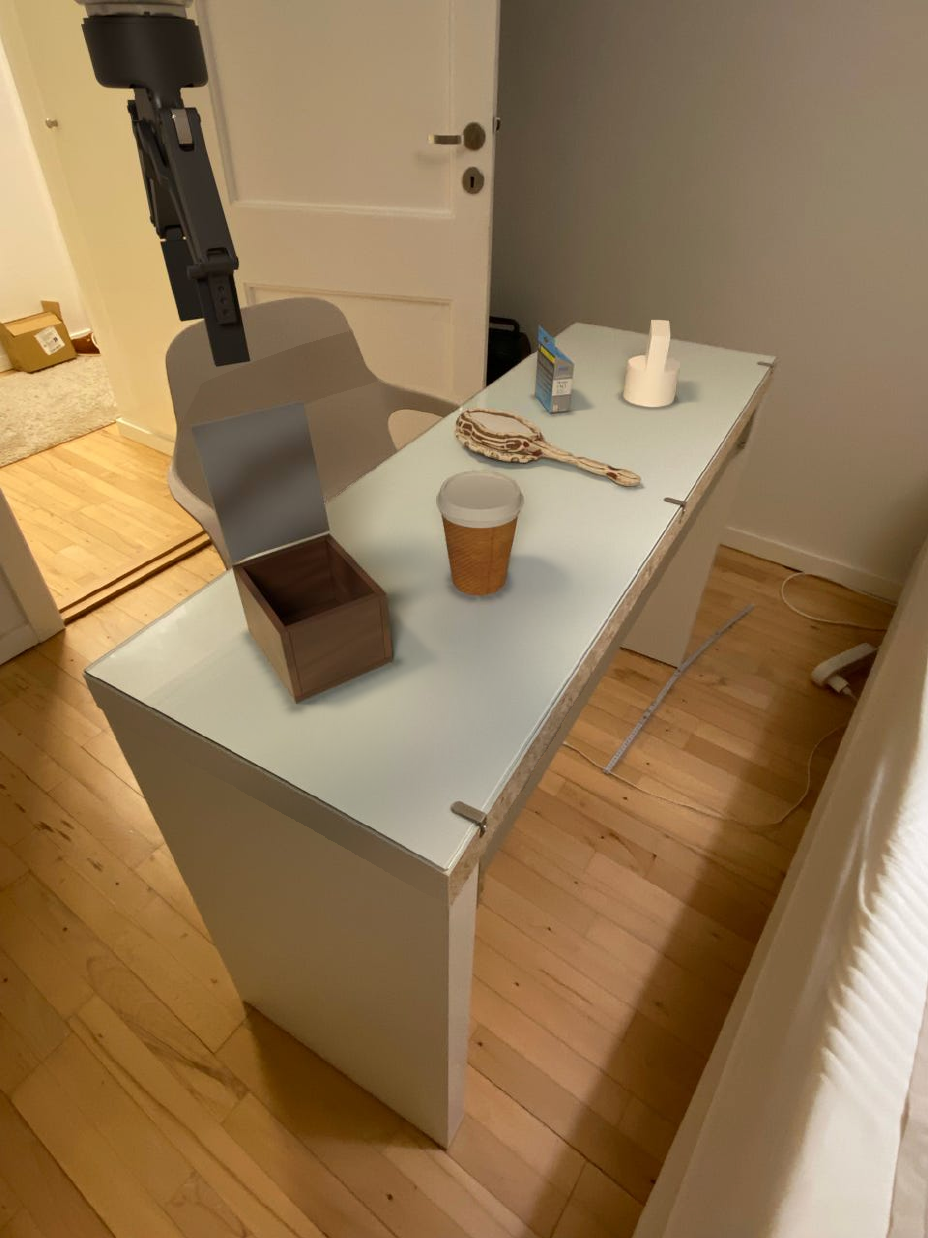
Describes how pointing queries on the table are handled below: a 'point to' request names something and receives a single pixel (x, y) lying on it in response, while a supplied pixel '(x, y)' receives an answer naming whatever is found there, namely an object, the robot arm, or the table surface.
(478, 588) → the disposable coffee cup
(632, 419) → the table surface
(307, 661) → the box
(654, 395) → the cylinder with rectangular tab
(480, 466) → the table surface
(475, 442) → the hand mirror
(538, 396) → the ink cartridge box
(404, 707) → the table surface
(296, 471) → the lid
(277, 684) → the table surface
